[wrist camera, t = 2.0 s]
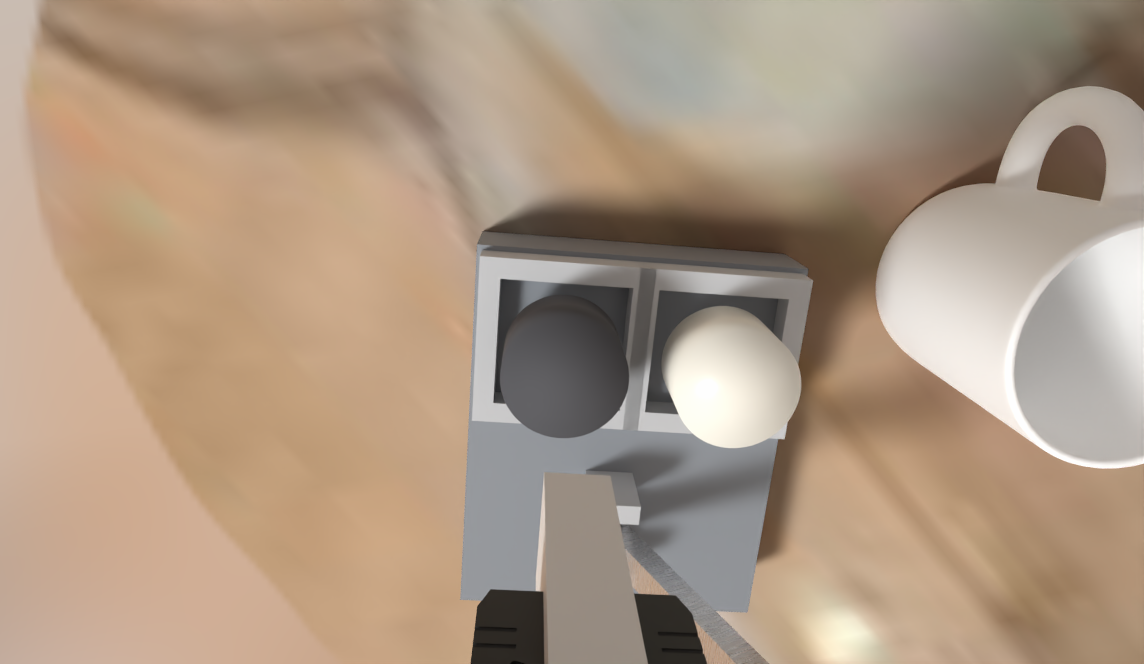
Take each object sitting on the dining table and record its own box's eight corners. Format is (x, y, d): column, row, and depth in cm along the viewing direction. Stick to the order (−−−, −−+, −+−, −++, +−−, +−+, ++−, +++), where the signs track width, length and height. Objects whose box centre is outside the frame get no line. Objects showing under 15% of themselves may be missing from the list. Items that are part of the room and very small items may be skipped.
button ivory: (668, 301, 28) (683, 324, 25) (784, 309, 28) (811, 333, 26) (654, 411, 29) (667, 444, 27) (765, 417, 30) (789, 451, 27)
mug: (905, 80, 31) (1079, 72, 21) (1100, 95, 31) (1358, 94, 21) (853, 359, 34) (979, 464, 24) (1028, 368, 35) (1222, 475, 25)
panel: (482, 231, 32) (470, 259, 26) (784, 254, 33) (835, 285, 27) (466, 560, 36) (453, 642, 31) (731, 572, 37) (764, 655, 32)
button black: (507, 290, 28) (503, 312, 25) (626, 298, 28) (635, 321, 25) (500, 401, 29) (496, 434, 26) (614, 408, 29) (622, 441, 26)
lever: (585, 504, 32) (798, 724, 21) (614, 498, 32) (835, 709, 22) (581, 544, 32) (787, 777, 22) (609, 537, 33) (823, 761, 22)
